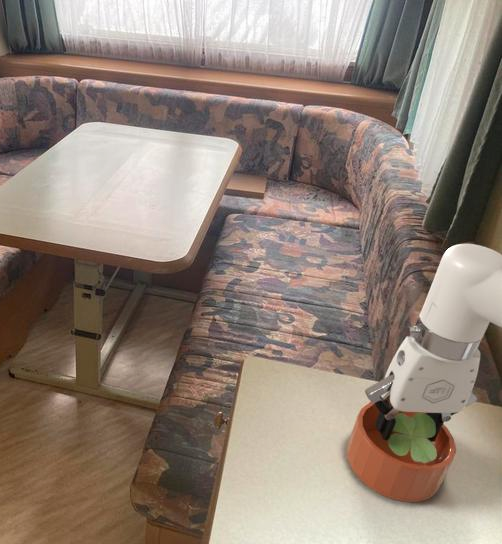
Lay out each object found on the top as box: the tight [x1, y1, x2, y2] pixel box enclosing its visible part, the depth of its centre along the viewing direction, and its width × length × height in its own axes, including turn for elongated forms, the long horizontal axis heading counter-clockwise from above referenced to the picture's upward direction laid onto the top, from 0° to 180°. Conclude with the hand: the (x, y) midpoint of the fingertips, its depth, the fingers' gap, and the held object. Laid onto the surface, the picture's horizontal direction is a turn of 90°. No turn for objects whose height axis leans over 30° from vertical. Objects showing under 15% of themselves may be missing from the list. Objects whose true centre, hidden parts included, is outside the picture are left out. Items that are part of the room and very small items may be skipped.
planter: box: [346, 401, 457, 503], centre depth 86 cm, size 13×13×7 cm
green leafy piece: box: [388, 413, 437, 463], centre depth 85 cm, size 7×8×7 cm
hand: (404, 432), depth 84 cm, fingers closed on green leafy piece, 6 cm apart
